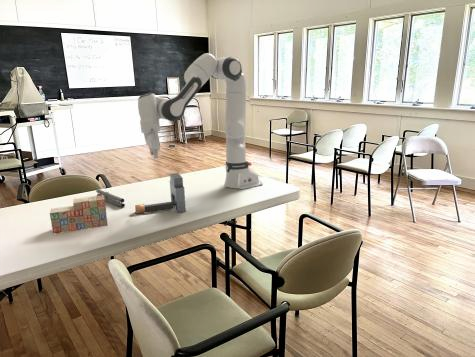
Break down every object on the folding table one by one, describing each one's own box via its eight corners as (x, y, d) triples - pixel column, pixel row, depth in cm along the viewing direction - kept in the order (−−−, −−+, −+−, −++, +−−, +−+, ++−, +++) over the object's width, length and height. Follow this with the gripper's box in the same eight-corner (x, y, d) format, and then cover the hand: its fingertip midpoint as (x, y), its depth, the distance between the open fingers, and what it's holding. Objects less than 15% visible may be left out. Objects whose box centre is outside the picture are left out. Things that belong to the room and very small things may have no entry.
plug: (172, 206, 174) (171, 199, 173) (174, 209, 170) (173, 201, 169) (135, 211, 168) (134, 204, 167) (136, 214, 164) (135, 206, 163)
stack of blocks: (52, 234, 145) (47, 206, 142) (54, 228, 150) (49, 201, 147) (108, 225, 152) (104, 198, 149) (107, 220, 158) (104, 194, 155)
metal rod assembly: (125, 207, 175) (124, 197, 174) (120, 208, 173) (119, 199, 172) (100, 196, 192) (99, 187, 191) (95, 198, 190) (94, 189, 189)
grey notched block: (179, 202, 180) (177, 171, 176) (185, 211, 167) (183, 179, 162) (171, 203, 179) (169, 172, 175) (177, 213, 165) (175, 180, 161)
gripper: (161, 129, 161) (164, 159, 165) (153, 125, 180) (157, 152, 184) (147, 131, 159) (151, 161, 163) (141, 127, 178) (144, 154, 181)
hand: (154, 156), depth 173 cm, fingers open, 8 cm apart
